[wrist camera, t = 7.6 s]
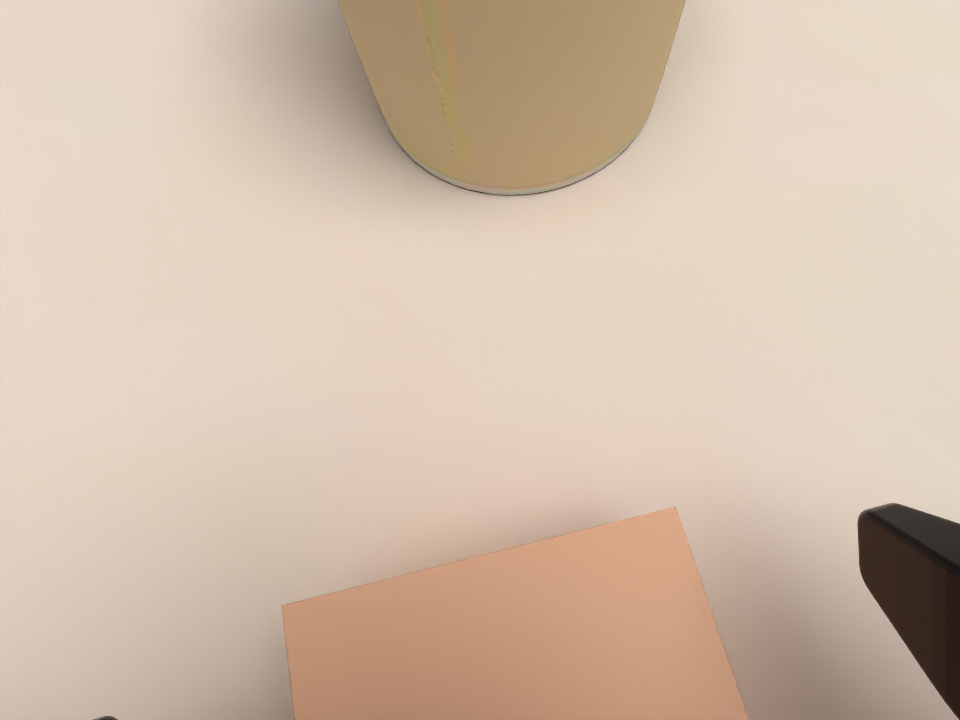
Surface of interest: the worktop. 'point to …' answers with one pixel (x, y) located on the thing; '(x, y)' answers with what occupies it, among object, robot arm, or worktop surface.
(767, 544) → the worktop surface
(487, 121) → the beige lidded tub
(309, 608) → the rectangular block
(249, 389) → the worktop surface
